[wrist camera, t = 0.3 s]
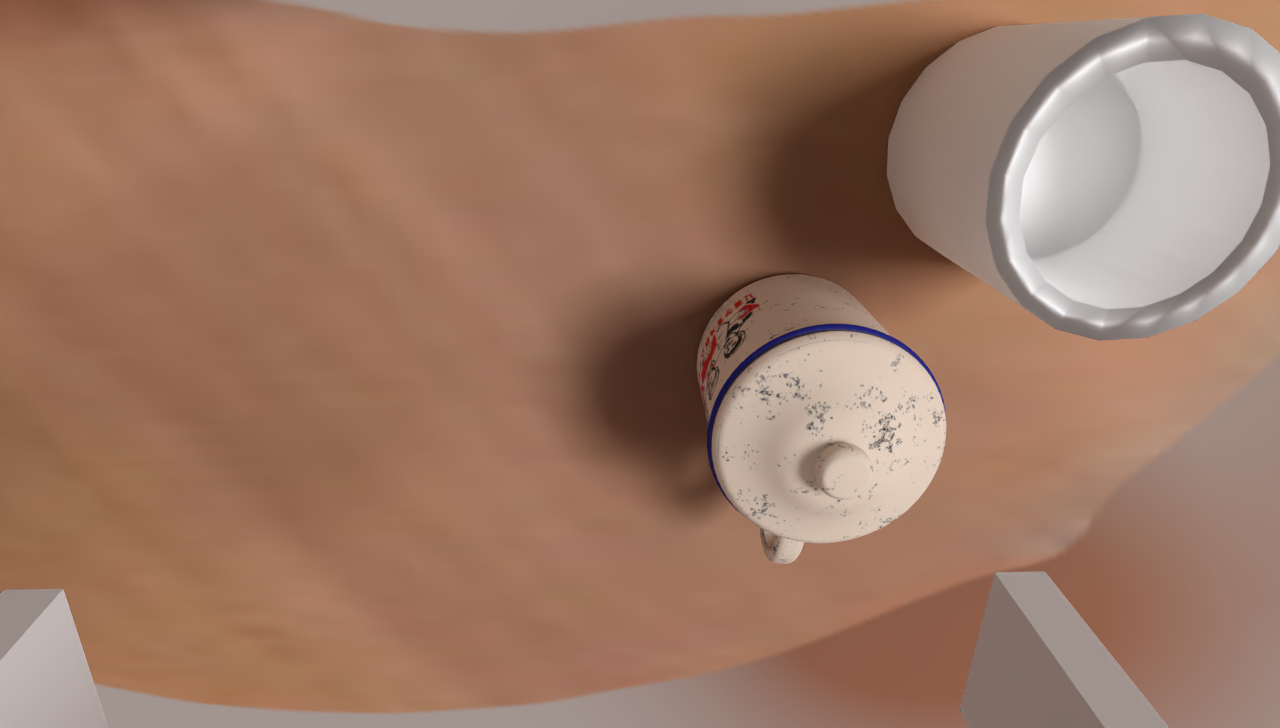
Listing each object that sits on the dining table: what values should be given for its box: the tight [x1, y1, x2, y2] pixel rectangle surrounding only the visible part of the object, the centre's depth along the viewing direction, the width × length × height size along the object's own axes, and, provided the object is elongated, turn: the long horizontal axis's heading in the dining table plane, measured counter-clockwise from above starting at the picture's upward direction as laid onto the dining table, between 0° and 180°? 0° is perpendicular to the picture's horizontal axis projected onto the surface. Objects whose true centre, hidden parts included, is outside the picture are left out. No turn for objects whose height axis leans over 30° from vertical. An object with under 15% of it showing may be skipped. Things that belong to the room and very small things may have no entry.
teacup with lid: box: [697, 274, 946, 564], centre depth 34 cm, size 12×9×12 cm
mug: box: [887, 14, 1280, 340], centre depth 31 cm, size 14×10×11 cm
